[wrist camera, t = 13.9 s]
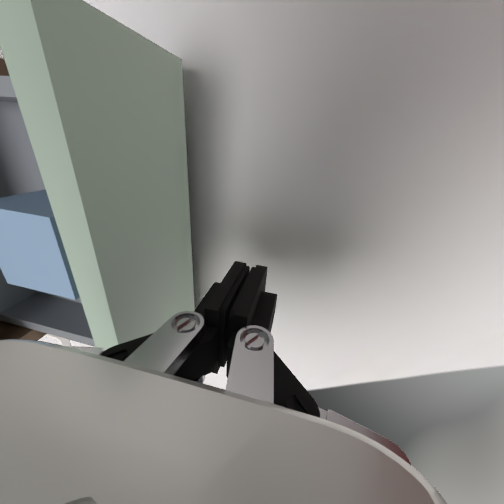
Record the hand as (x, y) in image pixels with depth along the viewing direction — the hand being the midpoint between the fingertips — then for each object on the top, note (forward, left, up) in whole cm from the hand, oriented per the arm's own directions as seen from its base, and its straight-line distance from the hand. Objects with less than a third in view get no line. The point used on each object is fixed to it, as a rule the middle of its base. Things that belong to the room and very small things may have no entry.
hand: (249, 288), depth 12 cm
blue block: (+12, 0, -3) cm, 13 cm away
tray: (+13, 0, -4) cm, 14 cm away
